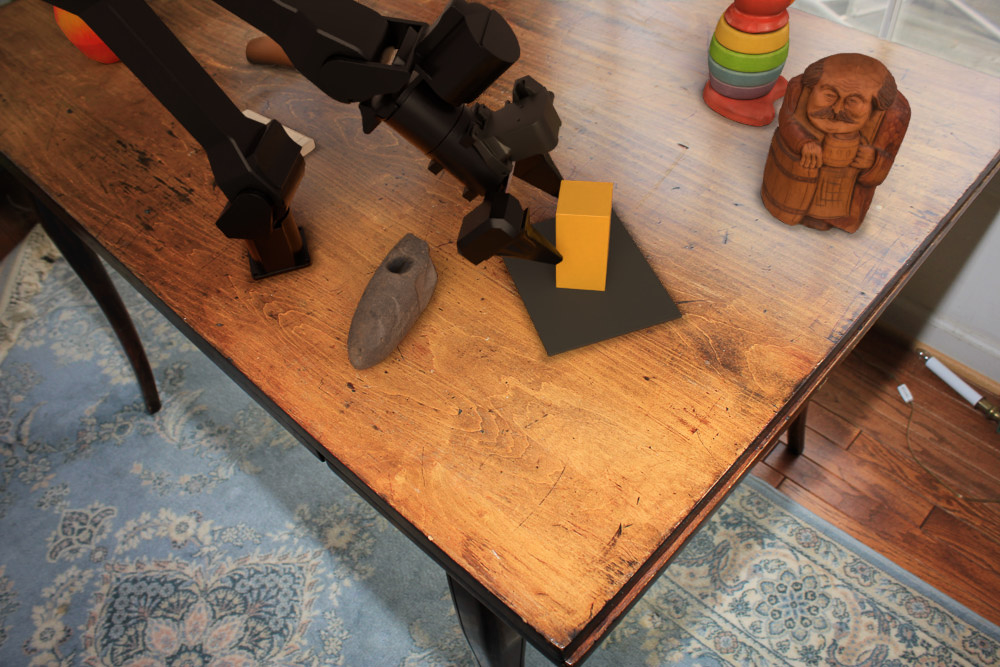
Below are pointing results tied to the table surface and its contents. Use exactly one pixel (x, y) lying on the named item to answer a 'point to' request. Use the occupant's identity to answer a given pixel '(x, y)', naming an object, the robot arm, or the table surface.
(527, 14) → the table surface
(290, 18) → the robot arm
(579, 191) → the mustard block
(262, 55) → the sunglasses case
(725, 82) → the stacking bear
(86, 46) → the red orange mango
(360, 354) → the perforated stone tool
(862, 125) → the wooden figurine
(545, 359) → the table surface
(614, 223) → the slate mat
